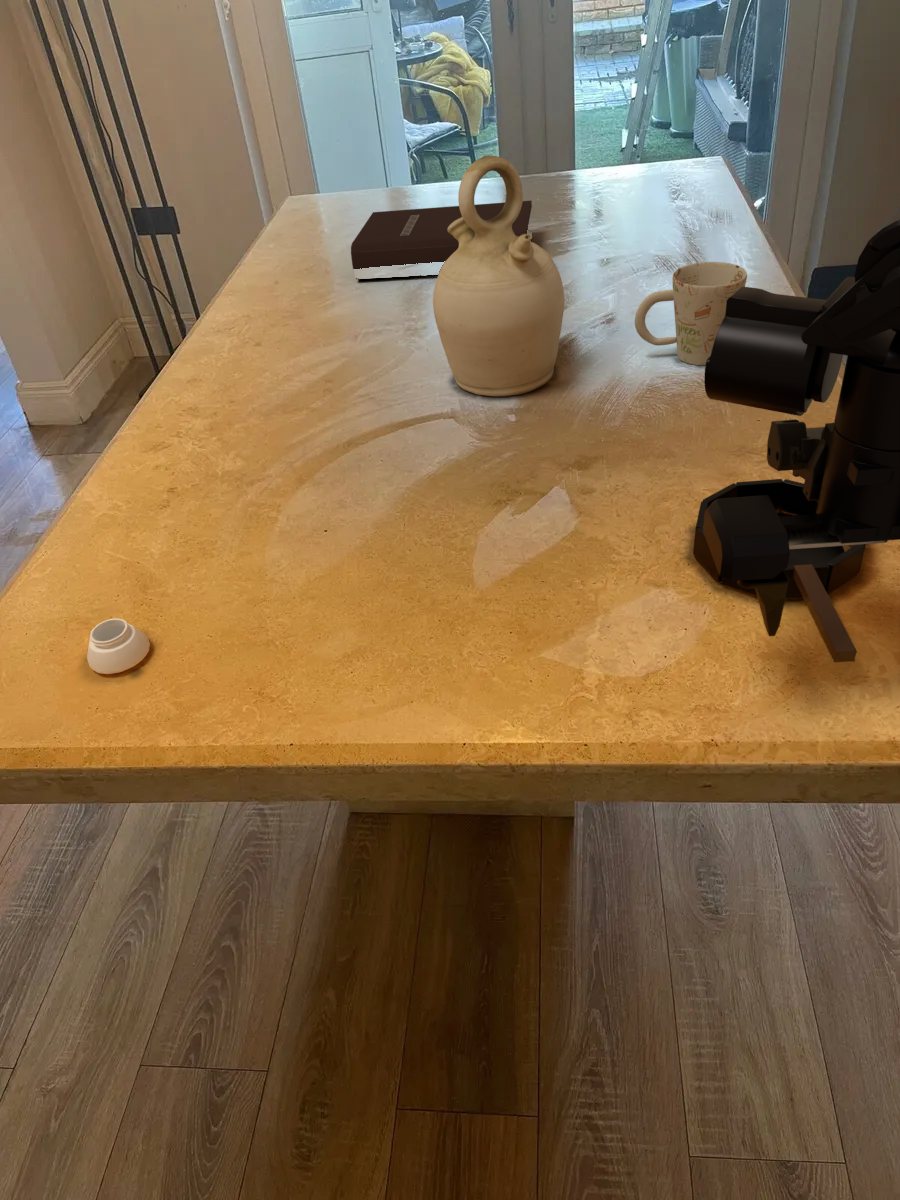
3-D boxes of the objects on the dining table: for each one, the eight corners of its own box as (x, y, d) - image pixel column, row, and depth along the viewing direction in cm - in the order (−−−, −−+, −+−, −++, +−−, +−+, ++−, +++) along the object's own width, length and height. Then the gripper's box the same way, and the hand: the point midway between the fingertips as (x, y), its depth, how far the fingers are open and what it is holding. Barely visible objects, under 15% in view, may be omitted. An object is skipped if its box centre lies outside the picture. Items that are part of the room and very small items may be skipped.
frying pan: (678, 516, 79) (681, 484, 77) (831, 505, 78) (838, 472, 75) (739, 693, 61) (744, 657, 59) (937, 681, 60) (951, 645, 58)
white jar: (142, 628, 74) (85, 652, 72) (131, 602, 72) (72, 626, 70) (157, 660, 70) (97, 686, 69) (146, 634, 69) (84, 659, 67)
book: (355, 284, 139) (349, 247, 135) (378, 246, 154) (373, 212, 150) (526, 274, 134) (524, 235, 131) (532, 236, 149) (531, 200, 145)
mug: (745, 366, 101) (755, 282, 95) (638, 375, 102) (642, 293, 96) (729, 339, 108) (737, 258, 101) (629, 348, 109) (631, 268, 102)
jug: (430, 365, 111) (403, 155, 95) (542, 342, 113) (534, 132, 97) (459, 414, 99) (434, 184, 84) (584, 388, 101) (583, 158, 85)
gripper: (988, 356, 55) (927, 551, 65) (695, 381, 56) (679, 567, 66) (1084, 440, 46) (997, 649, 56) (736, 466, 48) (710, 666, 58)
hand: (837, 627), depth 59 cm, fingers open, 9 cm apart
